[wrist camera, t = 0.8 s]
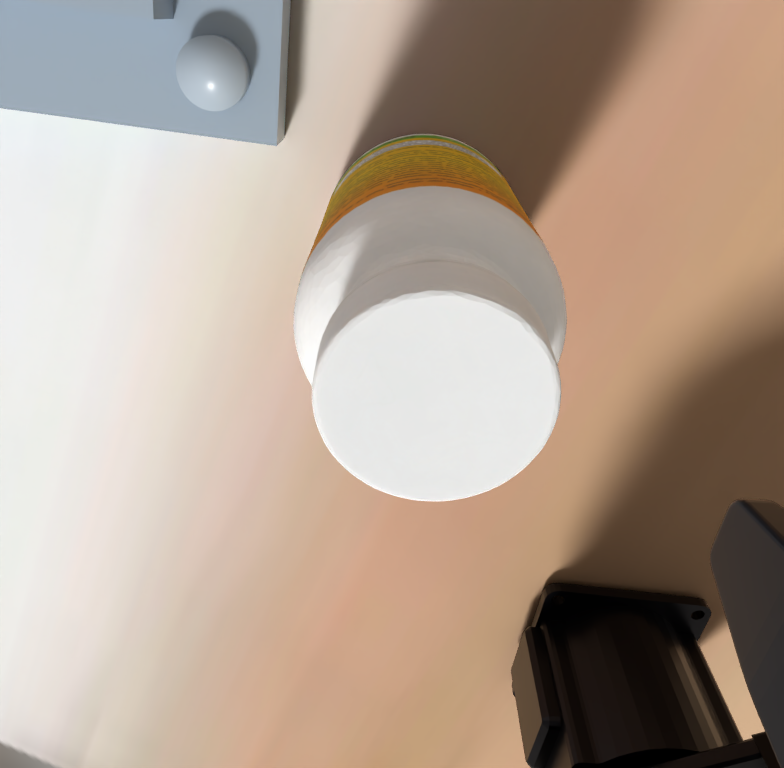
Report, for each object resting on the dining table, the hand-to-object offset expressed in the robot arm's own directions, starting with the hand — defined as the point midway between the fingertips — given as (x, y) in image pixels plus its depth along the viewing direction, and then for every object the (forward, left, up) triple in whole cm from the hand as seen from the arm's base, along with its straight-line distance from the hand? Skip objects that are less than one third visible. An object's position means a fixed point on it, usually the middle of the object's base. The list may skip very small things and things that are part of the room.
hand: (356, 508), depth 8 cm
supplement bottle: (-1, 0, -13) cm, 13 cm away
